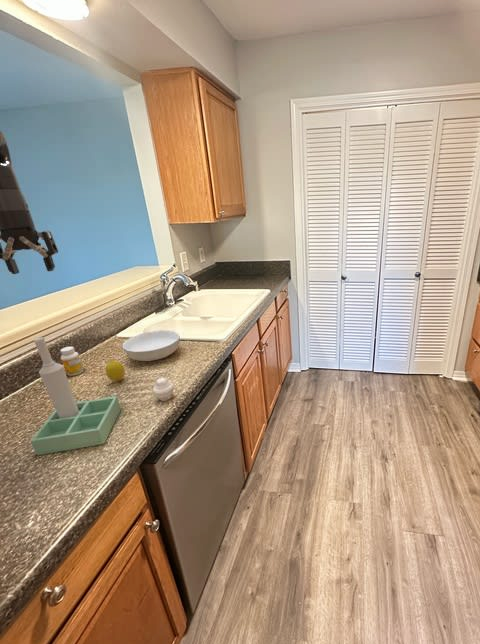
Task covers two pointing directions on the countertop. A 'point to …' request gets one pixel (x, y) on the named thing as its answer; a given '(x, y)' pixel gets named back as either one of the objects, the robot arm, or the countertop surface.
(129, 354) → the serving bowl
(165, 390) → the muffin
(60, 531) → the countertop surface
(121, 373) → the lemon
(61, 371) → the bottle
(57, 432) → the compartment tray
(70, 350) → the supplement bottle
